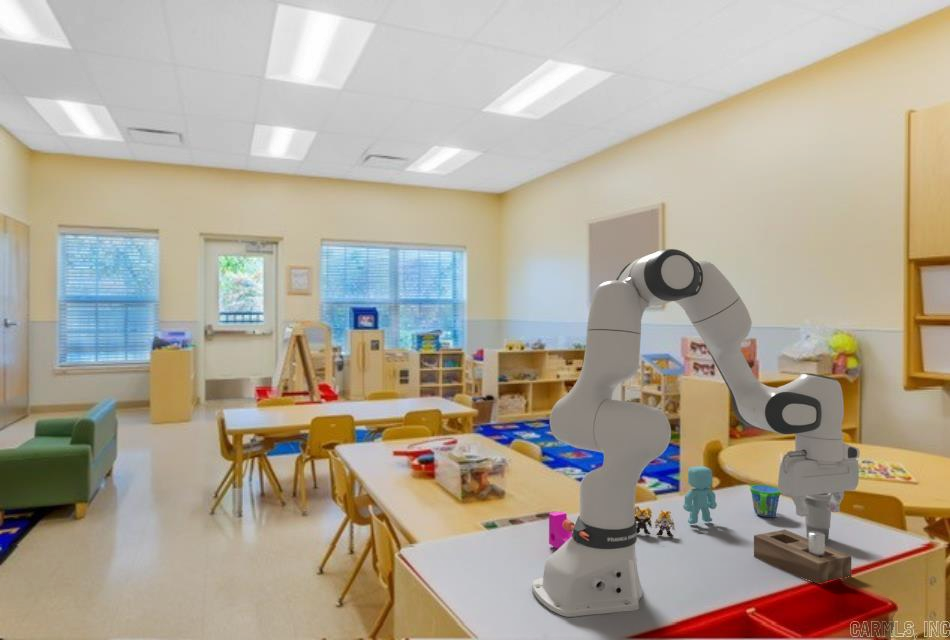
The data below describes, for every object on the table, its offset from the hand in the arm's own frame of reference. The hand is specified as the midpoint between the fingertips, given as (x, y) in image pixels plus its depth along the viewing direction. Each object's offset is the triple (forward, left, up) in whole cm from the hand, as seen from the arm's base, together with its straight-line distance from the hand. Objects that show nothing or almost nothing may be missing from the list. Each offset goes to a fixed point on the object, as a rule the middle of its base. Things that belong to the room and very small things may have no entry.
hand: (818, 513), depth 119 cm
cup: (+20, +15, -14) cm, 28 cm away
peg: (+1, +1, -14) cm, 14 cm away
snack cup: (+23, +33, -14) cm, 42 cm away
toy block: (-41, +30, -14) cm, 53 cm away
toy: (+1, +35, -14) cm, 37 cm away
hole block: (+1, +5, -14) cm, 14 cm away
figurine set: (-19, +35, -14) cm, 42 cm away
